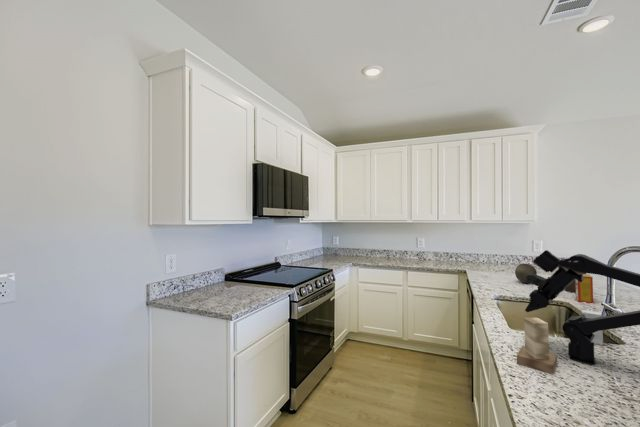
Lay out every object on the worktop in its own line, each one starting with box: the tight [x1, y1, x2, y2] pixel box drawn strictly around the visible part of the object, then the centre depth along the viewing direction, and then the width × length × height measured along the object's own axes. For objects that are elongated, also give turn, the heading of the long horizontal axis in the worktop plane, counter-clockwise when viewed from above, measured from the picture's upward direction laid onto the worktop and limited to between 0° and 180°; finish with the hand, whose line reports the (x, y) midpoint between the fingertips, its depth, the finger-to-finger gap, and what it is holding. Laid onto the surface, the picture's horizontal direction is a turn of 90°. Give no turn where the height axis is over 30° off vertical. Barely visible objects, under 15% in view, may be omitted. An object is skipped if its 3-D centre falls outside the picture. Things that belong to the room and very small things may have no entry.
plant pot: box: [557, 267, 587, 294], centre depth 200 cm, size 15×15×16 cm
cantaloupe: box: [514, 263, 538, 284], centre depth 226 cm, size 14×14×15 cm
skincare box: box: [581, 309, 604, 346], centre depth 119 cm, size 6×4×12 cm
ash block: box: [523, 317, 550, 359], centre depth 102 cm, size 4×6×12 cm
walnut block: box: [516, 345, 558, 375], centre depth 102 cm, size 10×10×4 cm
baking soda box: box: [575, 273, 594, 304], centre depth 177 cm, size 10×6×16 cm
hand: (529, 308), depth 117 cm, fingers open, 9 cm apart
